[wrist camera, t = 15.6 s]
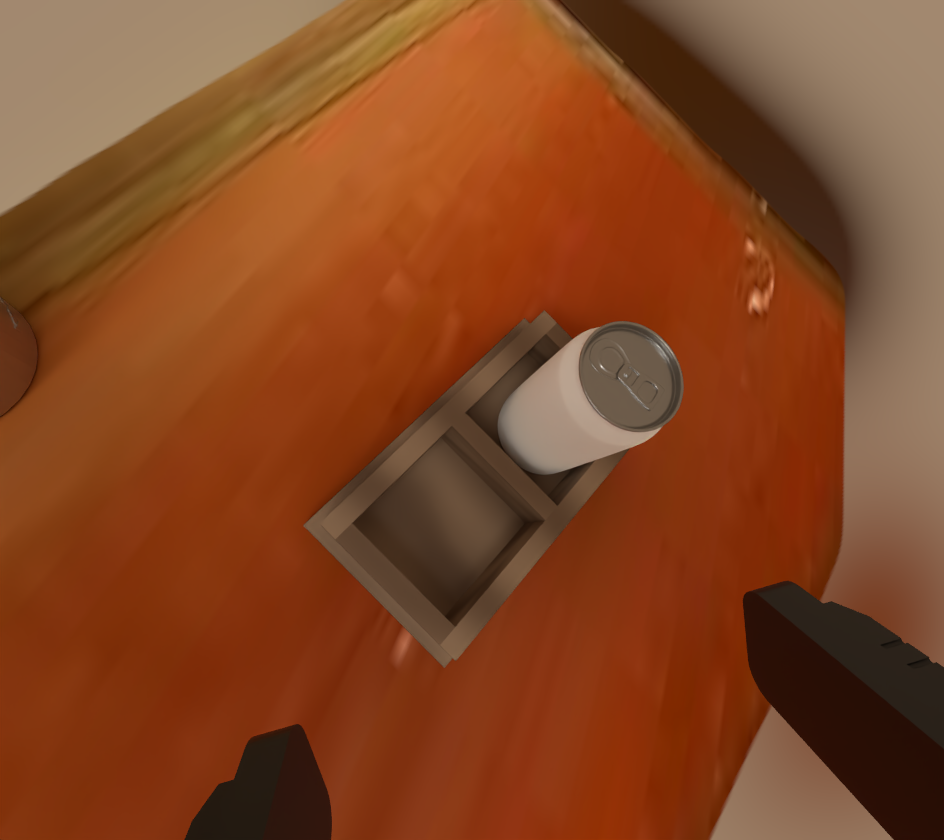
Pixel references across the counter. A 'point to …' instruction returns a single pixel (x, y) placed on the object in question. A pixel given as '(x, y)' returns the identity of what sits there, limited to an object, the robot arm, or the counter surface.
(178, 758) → the counter surface
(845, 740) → the robot arm
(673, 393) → the can
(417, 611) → the tray
